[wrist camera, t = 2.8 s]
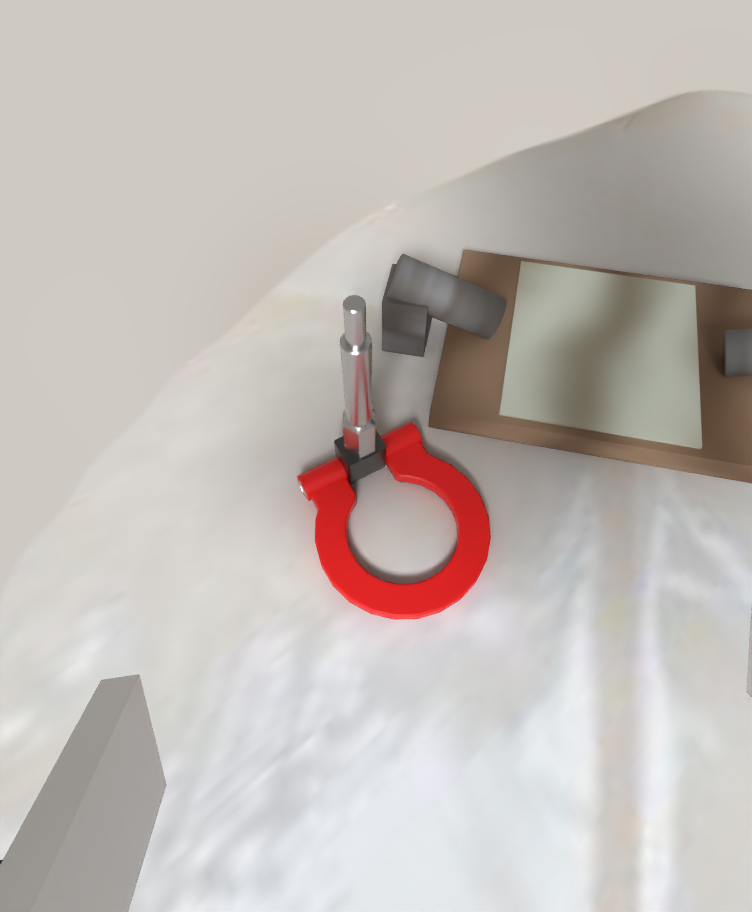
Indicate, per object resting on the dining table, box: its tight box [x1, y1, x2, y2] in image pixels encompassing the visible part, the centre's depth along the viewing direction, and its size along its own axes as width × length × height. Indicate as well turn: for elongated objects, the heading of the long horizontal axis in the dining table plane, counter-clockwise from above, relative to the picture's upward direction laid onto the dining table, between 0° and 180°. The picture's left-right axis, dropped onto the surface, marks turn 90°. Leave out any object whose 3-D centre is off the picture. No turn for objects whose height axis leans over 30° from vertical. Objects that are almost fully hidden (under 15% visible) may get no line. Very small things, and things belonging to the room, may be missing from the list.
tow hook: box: [297, 295, 491, 619], centre depth 25 cm, size 8×13×9 cm
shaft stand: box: [382, 250, 752, 483], centre depth 33 cm, size 24×12×6 cm, turn 78°
